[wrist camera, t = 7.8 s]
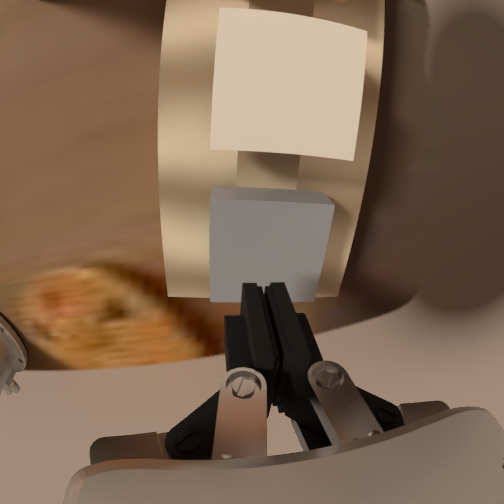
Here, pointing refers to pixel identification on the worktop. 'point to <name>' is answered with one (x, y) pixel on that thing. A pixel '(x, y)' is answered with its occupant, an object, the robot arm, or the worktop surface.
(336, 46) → the cream tile
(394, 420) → the robot arm
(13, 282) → the worktop surface
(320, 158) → the button board
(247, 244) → the slate tile
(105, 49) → the worktop surface
